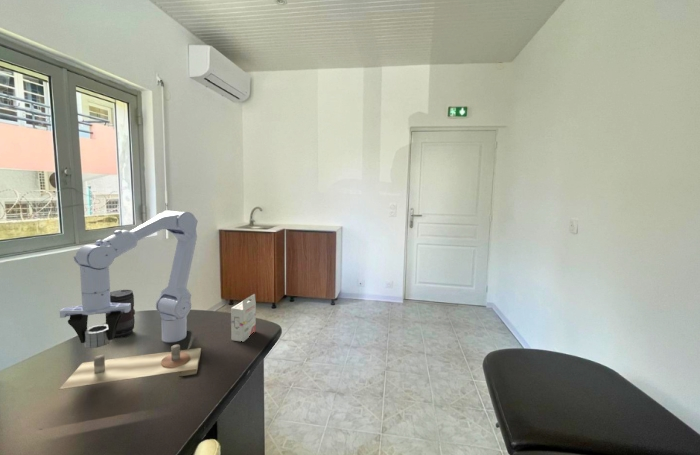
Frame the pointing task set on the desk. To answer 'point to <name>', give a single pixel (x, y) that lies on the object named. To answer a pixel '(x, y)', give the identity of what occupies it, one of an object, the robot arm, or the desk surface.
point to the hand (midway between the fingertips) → (98, 339)
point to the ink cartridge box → (243, 319)
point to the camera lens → (127, 318)
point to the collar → (96, 336)
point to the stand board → (135, 367)
